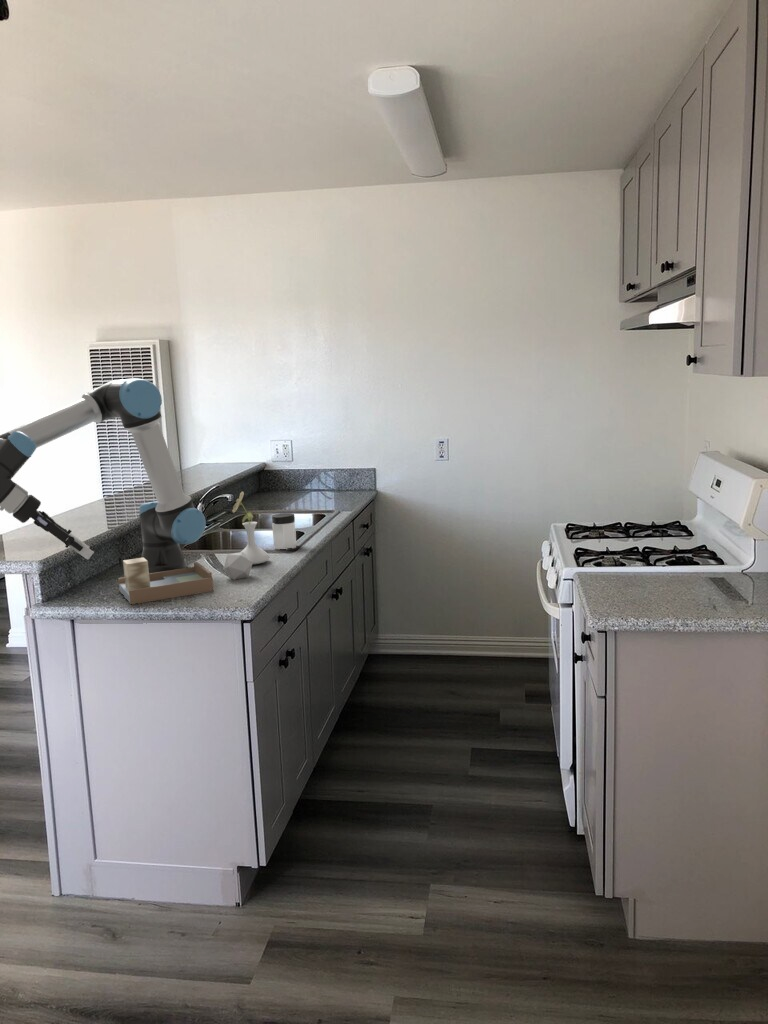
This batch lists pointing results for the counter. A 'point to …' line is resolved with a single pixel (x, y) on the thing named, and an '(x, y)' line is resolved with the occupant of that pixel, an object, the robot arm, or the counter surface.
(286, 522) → the jar
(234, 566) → the die
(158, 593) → the box
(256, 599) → the counter surface
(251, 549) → the flower in vase
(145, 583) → the block
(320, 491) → the counter surface
